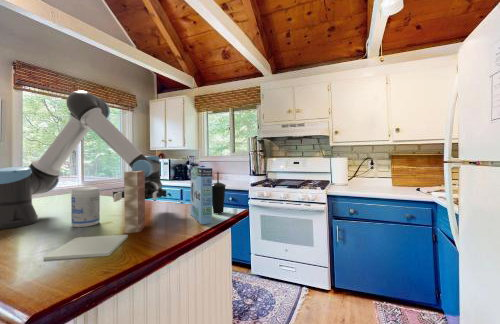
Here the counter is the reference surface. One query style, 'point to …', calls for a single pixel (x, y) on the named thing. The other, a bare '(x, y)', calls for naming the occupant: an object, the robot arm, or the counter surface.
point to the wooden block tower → (134, 201)
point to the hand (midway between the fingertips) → (134, 197)
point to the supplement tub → (85, 207)
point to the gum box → (201, 194)
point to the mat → (87, 247)
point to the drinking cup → (218, 196)
